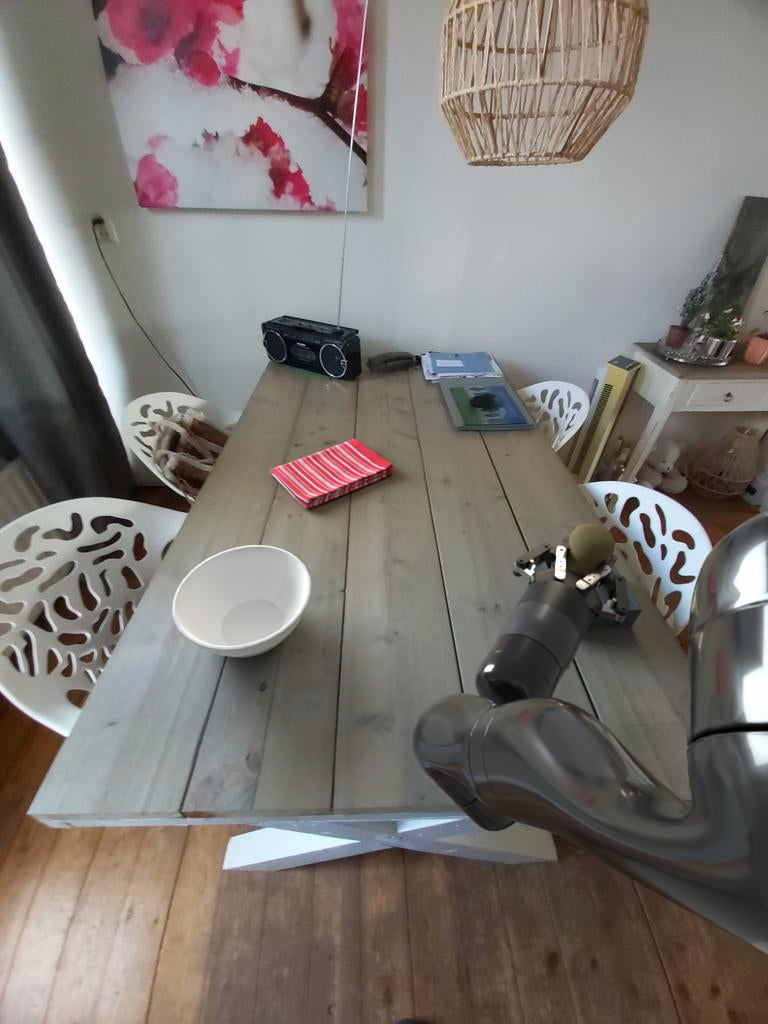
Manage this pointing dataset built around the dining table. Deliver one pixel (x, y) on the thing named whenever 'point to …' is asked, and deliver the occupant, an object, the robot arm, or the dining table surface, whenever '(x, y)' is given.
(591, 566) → the cork
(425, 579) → the dining table surface
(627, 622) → the square tray
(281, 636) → the bowl
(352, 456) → the dish towel
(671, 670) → the dining table surface
